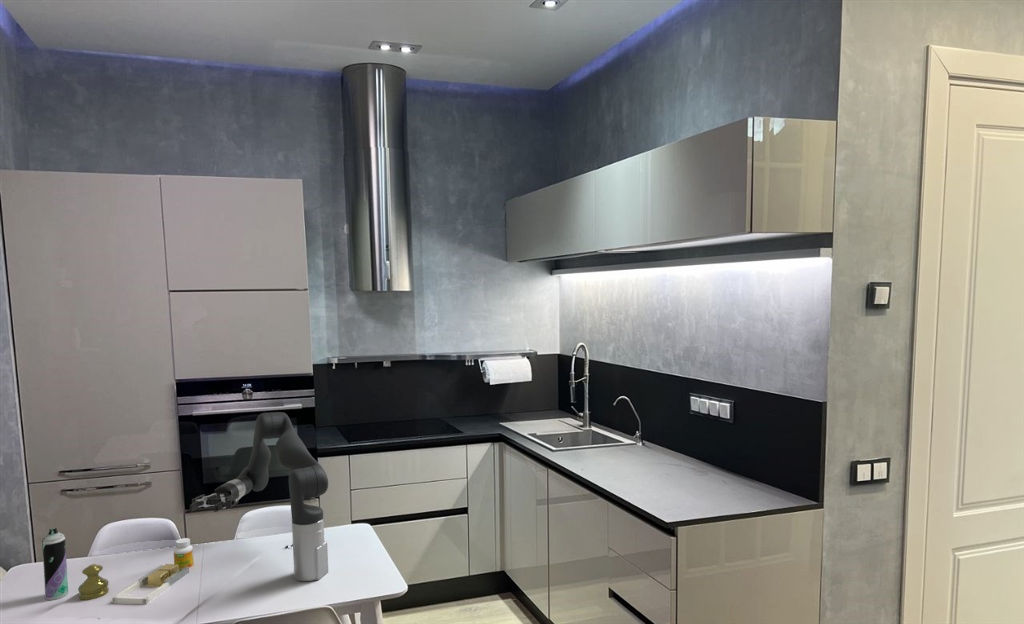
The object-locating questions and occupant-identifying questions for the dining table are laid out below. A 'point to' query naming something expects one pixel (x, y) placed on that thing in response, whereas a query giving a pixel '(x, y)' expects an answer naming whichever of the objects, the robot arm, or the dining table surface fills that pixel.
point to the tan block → (158, 577)
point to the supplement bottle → (183, 553)
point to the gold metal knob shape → (93, 584)
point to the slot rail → (170, 580)
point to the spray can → (55, 565)
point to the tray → (123, 599)
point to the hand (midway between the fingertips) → (202, 508)
